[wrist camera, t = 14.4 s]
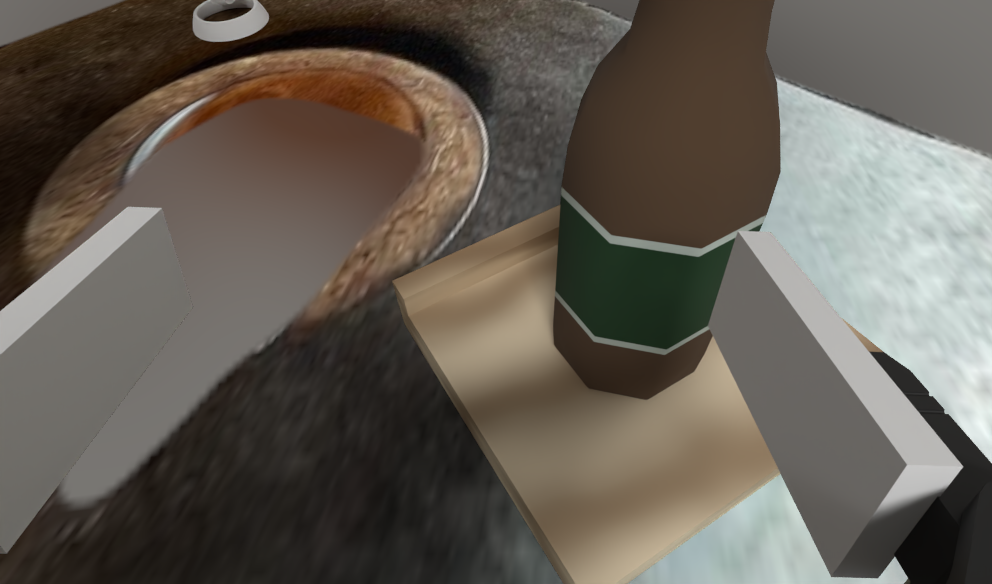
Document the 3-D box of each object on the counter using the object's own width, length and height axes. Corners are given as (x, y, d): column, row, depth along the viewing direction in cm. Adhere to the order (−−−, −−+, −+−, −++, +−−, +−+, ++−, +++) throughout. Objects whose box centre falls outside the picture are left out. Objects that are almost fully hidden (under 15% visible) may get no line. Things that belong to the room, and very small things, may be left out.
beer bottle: (725, 393, 28) (1132, -345, 9) (567, 417, 27) (655, -308, 9) (672, 273, 33) (866, -368, 14) (537, 292, 32) (552, -345, 14)
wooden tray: (404, 323, 34) (392, 280, 31) (640, 210, 40) (650, 163, 36) (582, 615, 24) (591, 594, 21) (867, 411, 30) (907, 371, 26)
